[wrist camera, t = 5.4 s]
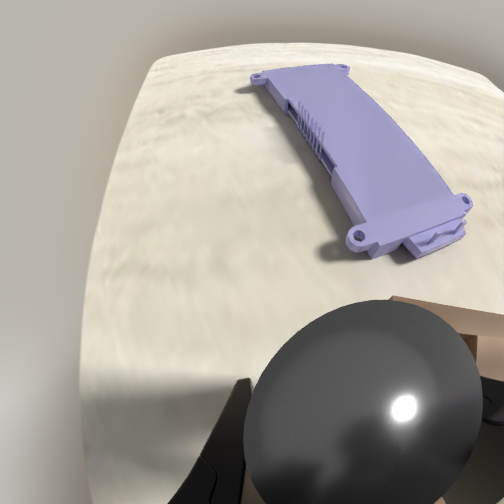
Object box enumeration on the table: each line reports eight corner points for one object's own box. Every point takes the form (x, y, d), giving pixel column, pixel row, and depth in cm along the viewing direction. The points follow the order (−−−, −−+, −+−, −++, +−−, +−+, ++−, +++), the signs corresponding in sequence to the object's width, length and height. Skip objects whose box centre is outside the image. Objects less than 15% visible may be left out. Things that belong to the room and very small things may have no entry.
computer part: (356, 286, 22) (473, 236, 23) (372, 263, 18) (494, 213, 19) (249, 89, 35) (342, 77, 37) (246, 64, 32) (345, 54, 33)
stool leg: (329, 442, 13) (448, 525, 2) (257, 429, 13) (213, 519, 3) (345, 374, 14) (490, 316, 4) (275, 361, 15) (281, 278, 4)
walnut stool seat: (502, 513, 8) (516, 517, 6) (318, 545, 12) (323, 559, 9) (537, 329, 17) (552, 322, 15) (381, 306, 20) (392, 295, 18)
